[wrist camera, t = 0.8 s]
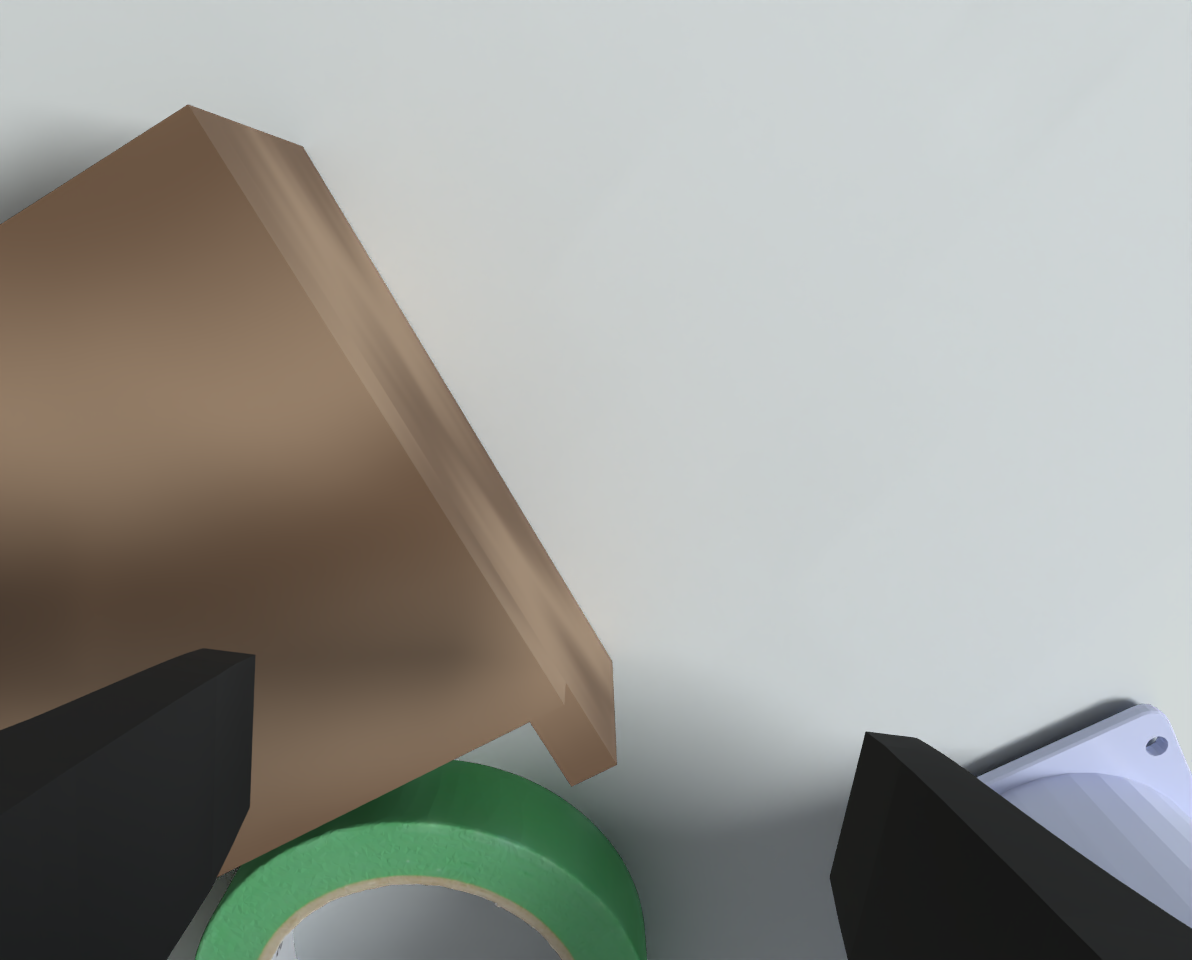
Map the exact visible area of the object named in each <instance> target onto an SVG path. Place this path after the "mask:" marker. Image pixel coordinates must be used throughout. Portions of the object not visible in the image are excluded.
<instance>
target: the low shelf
mask: <svg viewBox="0 0 1192 960" xmlns="http://www.w3.org/2000/svg"><path fill="white" fill-rule="evenodd" d="M202 648H207V649H214V650H222V651H230V652H238V653H246V654H254V655H256V656H255V684H254V711H253V738H252V766H251V793H250V808H249V810H248V813H247V815H246V817H245V819H244V821H243V823H242V826H241V828H240V830H239V832H238V834H237V837H236V839H235V841H234V843H233V845H232V847H231V850H230V852H229V854H228V856H227V858H226V860H225V862H224V864H223V866H222V868H221V870H220V872H219V874H218V876H217V877H219V876H221V875H223V874H225V873H227V872H229V871H231V870H233V869H235V868H237V867H239V866H241V865H243V864H245V863H247V862H249V861H251V860H253V859H255V858H257V857H259V856H261V855H263V854H265V853H267V852H269V851H271V850H273V849H275V848H277V847H279V846H281V845H283V844H285V843H287V842H289V841H291V840H293V839H295V838H297V837H299V836H301V835H303V834H305V833H307V832H309V831H311V830H313V829H315V828H317V827H319V826H321V825H323V824H325V823H327V822H329V821H331V820H333V819H335V818H337V817H339V816H341V815H344V814H346V813H348V812H350V811H352V810H354V809H356V808H358V807H360V806H362V805H364V804H366V803H368V802H370V801H372V800H374V799H376V798H378V797H380V796H382V795H384V794H386V793H388V792H390V791H392V790H394V789H396V788H398V787H400V786H402V785H404V784H406V783H408V782H410V781H412V780H414V779H416V778H418V777H420V776H422V775H424V774H426V773H428V772H430V771H432V770H434V769H436V768H438V767H440V766H442V765H444V764H446V763H448V762H450V761H452V760H454V759H456V758H458V757H460V756H462V755H464V754H466V753H468V752H470V751H472V750H474V749H476V748H478V747H480V746H482V745H484V744H486V743H488V742H490V741H492V740H494V739H496V738H498V737H500V736H502V735H504V734H506V733H508V732H510V731H513V730H515V729H517V728H519V727H521V726H523V725H525V724H527V723H529V722H530V723H531V725H532V726H533V728H534V729H535V731H536V732H537V734H538V735H539V737H540V739H541V740H542V742H543V743H544V745H545V746H546V748H547V749H548V751H549V753H550V754H551V756H552V757H553V759H554V760H555V762H556V763H557V765H558V767H559V768H560V770H561V771H562V773H563V774H564V776H565V777H566V779H567V781H568V782H569V784H570V785H571V787H572V786H574V785H576V784H578V783H580V782H582V781H584V780H586V779H588V778H591V777H593V776H595V775H597V774H599V773H601V772H603V771H605V770H607V769H609V768H611V767H613V766H615V765H617V755H616V733H615V711H614V689H613V667H612V660H611V659H610V657H609V655H608V654H607V652H606V650H605V649H604V647H603V645H602V644H601V642H600V640H599V639H598V637H597V635H596V634H595V632H594V630H593V629H592V627H591V625H590V624H589V622H588V620H587V619H586V617H585V615H584V614H583V612H582V610H581V609H580V607H579V605H578V604H577V602H576V600H575V599H574V597H573V595H572V594H571V592H570V590H569V589H568V587H567V585H566V584H565V582H564V581H563V579H562V577H561V576H560V574H559V572H558V571H557V569H556V567H555V566H554V564H553V562H552V561H551V559H550V557H549V556H548V554H547V552H546V551H545V549H544V547H543V546H542V544H541V542H540V541H539V539H538V537H537V536H536V534H535V532H534V531H533V529H532V527H531V526H530V524H529V522H528V521H527V519H526V517H525V516H524V514H523V512H522V511H521V509H520V507H519V506H518V504H517V502H516V501H515V499H514V497H513V496H512V494H511V492H510V491H509V489H508V487H507V486H506V484H505V482H504V481H503V479H502V477H501V476H500V474H499V472H498V471H497V469H496V467H495V466H494V464H493V462H492V461H491V459H490V457H489V456H488V454H487V452H486V451H485V449H484V447H483V446H482V444H481V442H480V441H479V439H478V437H477V436H476V434H475V432H474V431H473V429H472V427H471V426H470V424H469V422H468V421H467V419H466V417H465V416H464V414H463V412H462V411H461V409H460V407H459V406H458V404H457V402H456V401H455V399H454V397H453V396H452V394H451V393H450V391H449V389H448V388H447V386H446V384H445V383H444V381H443V379H442V378H441V376H440V374H439V373H438V371H437V369H436V368H435V366H434V364H433V363H432V361H431V359H430V358H429V356H428V354H427V353H426V351H425V349H424V348H423V346H422V344H421V343H420V341H419V339H418V338H417V336H416V334H415V333H414V331H413V329H412V328H411V326H410V324H409V323H408V321H407V319H406V318H405V316H404V314H403V313H402V311H401V309H400V308H399V306H398V304H397V303H396V301H395V299H394V298H393V296H392V294H391V293H390V291H389V289H388V288H387V286H386V284H385V283H384V281H383V279H382V278H381V276H380V274H379V273H378V271H377V269H376V268H375V266H374V264H373V263H372V261H371V259H370V258H369V256H368V254H367V253H366V251H365V249H364V248H363V246H362V244H361V243H360V241H359V239H358V238H357V236H356V234H355V233H354V231H353V229H352V228H351V226H350V224H349V223H348V221H347V219H346V218H345V216H344V214H343V213H342V211H341V209H340V208H339V206H338V204H337V203H336V201H335V200H334V198H333V196H332V195H331V193H330V191H329V190H328V188H327V186H326V185H325V183H324V181H323V180H322V178H321V176H320V175H319V173H318V171H317V170H316V168H315V166H314V165H313V163H312V161H311V160H310V158H309V156H308V155H307V153H306V151H305V150H304V148H303V146H300V145H297V144H294V143H292V142H289V141H286V140H284V139H281V138H278V137H275V136H273V135H270V134H267V133H264V132H262V131H259V130H256V129H253V128H251V127H248V126H245V125H243V124H240V123H237V122H234V121H232V120H229V119H226V118H223V117H221V116H218V115H215V114H213V113H210V112H207V111H204V110H202V109H199V108H196V107H193V106H191V105H186V106H185V107H183V108H182V109H180V110H179V111H177V112H175V113H174V114H172V115H171V116H169V117H168V118H166V119H165V120H163V121H161V122H160V123H158V124H157V125H155V126H154V127H152V128H150V129H149V130H147V131H146V132H144V133H143V134H141V135H140V136H138V137H136V138H135V139H133V140H132V141H130V142H129V143H127V144H125V145H124V146H122V147H121V148H119V149H118V150H116V151H115V152H113V153H111V154H110V155H108V156H107V157H105V158H104V159H102V160H100V161H99V162H97V163H96V164H94V165H93V166H91V167H90V168H88V169H86V170H85V171H83V172H82V173H80V174H79V175H77V176H75V177H74V178H72V179H71V180H69V181H68V182H66V183H64V184H63V185H61V186H60V187H58V188H57V189H55V190H54V191H52V192H50V193H49V194H47V195H46V196H44V197H43V198H41V199H39V200H38V201H36V202H35V203H33V204H32V205H30V206H29V207H27V208H25V209H24V210H22V211H21V212H19V213H18V214H16V215H14V216H13V217H11V218H10V219H8V220H7V221H5V222H4V223H2V224H0V730H2V729H5V728H7V727H10V726H13V725H15V724H18V723H20V722H23V721H25V720H28V719H31V718H33V717H35V716H38V715H40V714H43V713H45V712H47V711H50V710H52V709H54V708H57V707H59V706H61V705H64V704H66V703H68V702H71V701H73V700H75V699H78V698H80V697H82V696H85V695H87V694H89V693H92V692H94V691H96V690H99V689H101V688H104V687H106V686H108V685H111V684H113V683H115V682H117V681H120V680H122V679H124V678H127V677H129V676H131V675H134V674H136V673H138V672H141V671H143V670H146V669H148V668H150V667H153V666H155V665H157V664H160V663H162V662H165V661H167V660H170V659H172V658H175V657H178V656H180V655H183V654H186V653H189V652H192V651H195V650H198V649H202Z"/></svg>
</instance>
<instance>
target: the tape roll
mask: <svg viewBox="0 0 1192 960" xmlns="http://www.w3.org/2000/svg"><path fill="white" fill-rule="evenodd" d="M405 884H407V885H414V884H422V885H433V886H443V887H447V888H450V889H454V890H459V891H463V892H466V893H469V894H474V895H477V896H479V897H482V898H484V899H486V900H489V901H493V902H495V905H496V906H497V907H502V908H504V909H505V910H506V911H509V912H510V913H512V914H514V915H516V916H517V917H519V918H521V919H522V920H524V921H525V922H526V923H527V924H529V925H530V926H531V927H532V928H535V930H536V931H538V932H539V933H540V934H541V935H542V936H543V937H544V938H545V939H546V940H547V941H548V943H549V945H550V946H551V947H552V948H553V949H554V950H555V951H556V952H557V954H558V955H559V957H560V958H561V960H647V953H646V940H645V927H644V919H643V914H642V908H641V904H640V900H639V897H638V894H637V891H636V888H635V885H634V883H633V880H632V878H631V876H630V874H629V872H628V870H627V868H626V866H625V864H624V862H623V861H622V859H621V857H620V856H619V854H618V853H617V851H616V850H615V849H614V847H613V846H612V845H611V843H610V842H609V841H608V839H607V838H606V837H605V836H604V835H603V834H602V833H601V831H600V830H599V829H598V828H597V827H596V826H595V825H594V824H593V823H592V822H591V821H590V820H589V819H588V818H586V817H585V816H584V815H583V814H582V813H581V812H579V811H578V810H577V809H576V808H574V807H573V806H572V805H570V804H569V803H568V802H566V801H565V800H563V799H562V798H560V797H559V796H557V795H556V794H554V793H553V792H551V791H549V790H547V789H545V788H544V787H542V786H540V785H538V784H536V783H534V782H532V781H529V780H527V779H525V778H523V777H520V776H518V775H515V774H512V773H509V772H506V771H503V770H500V769H497V768H493V767H489V766H485V765H481V764H476V763H470V762H464V761H457V760H452V761H450V762H448V763H446V764H444V765H442V766H440V767H438V768H436V769H434V770H432V771H430V772H428V773H426V774H424V775H422V776H420V777H418V778H416V779H414V780H412V781H410V782H408V783H406V784H404V785H402V786H400V787H398V788H396V789H394V790H392V791H390V792H388V793H386V794H384V795H382V796H380V797H378V798H376V799H374V800H372V801H370V802H368V803H366V804H364V805H362V806H360V807H358V808H356V809H354V810H352V811H350V812H348V813H346V814H344V815H341V816H339V817H337V818H335V819H333V820H331V821H329V822H327V823H325V824H323V825H321V826H319V827H317V828H315V829H313V830H311V831H309V832H307V833H305V834H303V835H301V836H299V837H297V838H295V839H293V840H291V841H289V842H287V843H285V844H283V845H281V846H279V847H277V848H275V849H273V850H271V851H269V852H267V853H265V854H263V855H261V856H259V857H257V858H255V859H253V860H251V861H249V862H247V863H245V864H243V865H241V866H240V868H239V869H238V871H237V873H236V875H235V876H234V878H233V880H232V882H231V883H230V885H229V887H228V889H227V890H226V892H225V894H224V896H223V897H222V899H221V901H220V903H219V905H218V906H217V908H216V910H215V912H214V913H213V915H212V917H211V919H210V921H209V923H208V925H207V927H206V929H205V931H204V933H203V936H202V938H201V941H200V944H199V946H198V949H197V953H196V957H195V960H298V959H297V956H296V952H295V946H294V937H293V929H294V928H295V927H296V926H297V925H298V924H299V923H300V922H301V921H302V920H303V919H304V918H306V917H307V916H308V915H310V914H312V913H313V912H314V911H316V910H318V909H320V908H321V907H323V906H324V905H325V904H327V903H329V902H331V901H333V900H335V899H338V898H340V897H345V896H347V895H350V894H353V893H357V892H361V891H364V890H368V889H375V888H379V887H384V886H389V885H405Z"/></svg>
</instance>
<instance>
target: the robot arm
mask: <svg viewBox="0 0 1192 960" xmlns="http://www.w3.org/2000/svg"><path fill="white" fill-rule="evenodd" d="M255 656H256V655H254V654H246V653H238V652H230V651H222V650H214V649H207V648H202V649H198V650H195V651H192V652H189V653H186V654H183V655H180V656H178V657H175V658H172V659H170V660H167V661H165V662H162V663H160V664H157V665H155V666H153V667H150V668H148V669H146V670H143V671H141V672H138V673H136V674H134V675H131V676H129V677H127V678H124V679H122V680H120V681H117V682H115V683H113V684H111V685H108V686H106V687H104V688H101V689H99V690H96V691H94V692H92V693H89V694H87V695H85V696H82V697H80V698H78V699H75V700H73V701H71V702H68V703H66V704H64V705H61V706H59V707H57V708H54V709H52V710H50V711H47V712H45V713H43V714H40V715H38V716H35V717H33V718H31V719H28V720H25V721H23V722H20V723H18V724H15V725H13V726H10V727H7V728H5V729H2V730H0V960H166V959H167V958H168V956H169V955H170V953H171V952H172V950H173V948H174V947H175V945H176V944H177V942H178V941H179V939H180V937H181V936H182V934H183V933H184V931H185V930H186V928H187V926H188V925H189V923H190V922H191V920H192V919H193V917H194V915H195V914H196V912H197V911H198V909H199V907H200V906H201V904H202V903H203V901H204V899H205V898H206V896H207V895H208V893H209V891H210V890H211V888H212V886H213V884H214V882H215V880H216V878H217V876H218V874H219V872H220V870H221V868H222V866H223V864H224V862H225V860H226V858H227V856H228V854H229V852H230V850H231V847H232V845H233V843H234V841H235V839H236V837H237V834H238V832H239V830H240V828H241V826H242V823H243V821H244V819H245V817H246V815H247V813H248V810H249V808H250V793H251V766H252V738H253V711H254V684H255ZM1154 737H1157V739H1156V741H1155V742H1154V743H1153V744H1152V745H1150V746H1146V745H1147V743H1148V741H1149V740H1151V739H1152V738H1154ZM830 881H831V886H832V891H833V895H834V900H835V905H836V910H837V915H838V919H839V924H840V928H841V932H842V937H843V941H844V945H845V949H846V953H847V957H848V960H1192V774H1191V771H1190V769H1189V767H1188V764H1187V762H1186V759H1185V757H1184V755H1183V752H1182V750H1181V747H1180V745H1179V743H1178V740H1177V738H1176V735H1175V733H1174V731H1173V728H1172V726H1171V723H1170V721H1169V719H1168V718H1167V717H1166V715H1165V714H1164V713H1163V712H1161V711H1160V710H1159V709H1158V708H1156V707H1154V706H1152V705H1150V704H1140V705H1136V706H1133V707H1131V708H1129V709H1126V710H1124V711H1122V712H1120V713H1118V714H1115V715H1113V716H1111V717H1109V718H1106V719H1104V720H1102V721H1100V722H1098V723H1095V724H1093V725H1091V726H1089V727H1087V728H1084V729H1082V730H1080V731H1078V732H1076V733H1073V734H1071V735H1069V736H1067V737H1065V738H1062V739H1060V740H1058V741H1056V742H1053V743H1051V744H1049V745H1047V746H1045V747H1042V748H1040V749H1038V750H1036V751H1034V752H1031V753H1029V754H1027V755H1025V756H1023V757H1020V758H1018V759H1016V760H1014V761H1012V762H1009V763H1007V764H1005V765H1003V766H1001V767H998V768H996V769H994V770H992V771H989V772H987V773H985V774H983V775H981V776H978V777H975V776H973V775H972V774H971V773H969V772H968V771H966V770H965V769H964V768H962V767H961V766H959V765H958V764H957V763H955V762H954V761H952V760H951V759H949V758H948V757H946V756H945V755H944V754H942V753H941V752H939V751H937V750H936V749H934V748H933V747H931V746H930V745H928V744H926V743H924V742H923V741H921V740H919V739H917V738H913V737H905V736H897V735H889V734H881V733H873V732H865V736H864V740H863V745H862V749H861V753H860V757H859V761H858V765H857V769H856V773H855V777H854V781H853V785H852V789H851V793H850V797H849V801H848V805H847V809H846V813H845V817H844V821H843V825H842V829H841V833H840V837H839V841H838V845H837V849H836V853H835V858H834V862H833V866H832V870H831V874H830Z"/></svg>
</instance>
